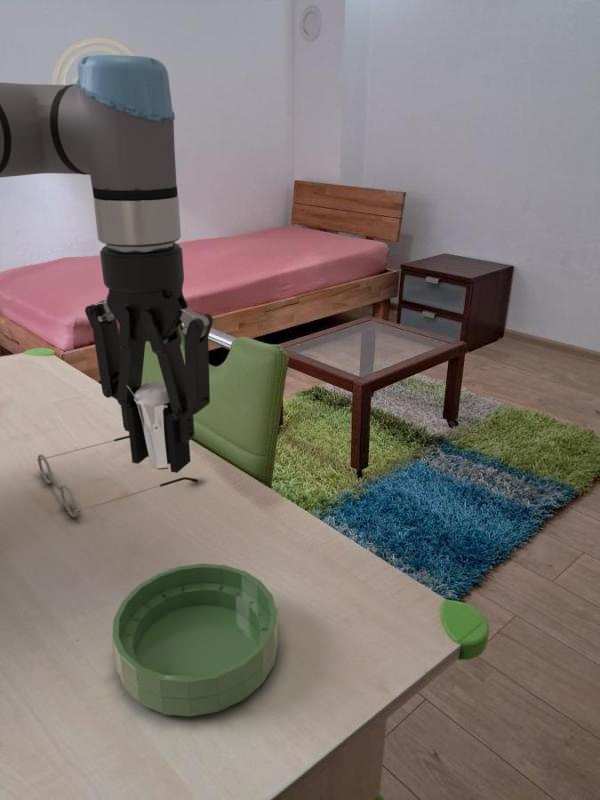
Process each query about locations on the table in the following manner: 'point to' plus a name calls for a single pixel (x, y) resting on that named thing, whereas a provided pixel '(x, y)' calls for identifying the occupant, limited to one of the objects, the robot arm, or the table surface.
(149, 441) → the milkshake
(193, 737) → the table surface
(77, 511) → the eyeglasses
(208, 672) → the bowl
